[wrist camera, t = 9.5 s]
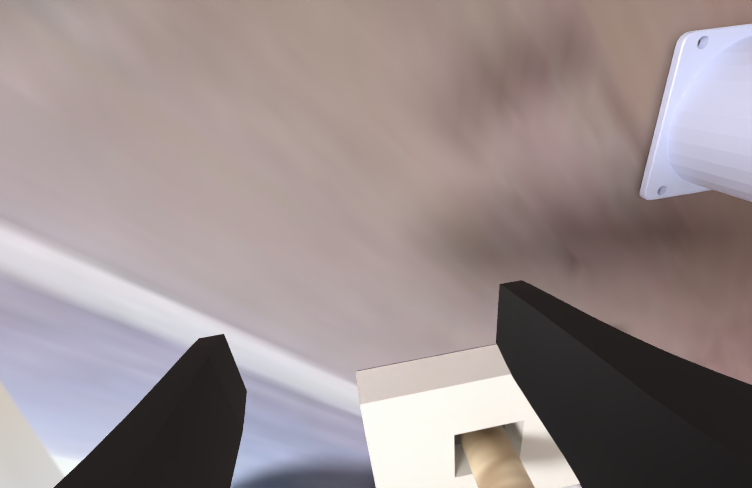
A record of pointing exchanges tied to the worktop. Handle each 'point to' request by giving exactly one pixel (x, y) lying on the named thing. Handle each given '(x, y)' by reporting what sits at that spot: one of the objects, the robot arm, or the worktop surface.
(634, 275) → the worktop surface
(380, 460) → the socket plate
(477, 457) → the peg
